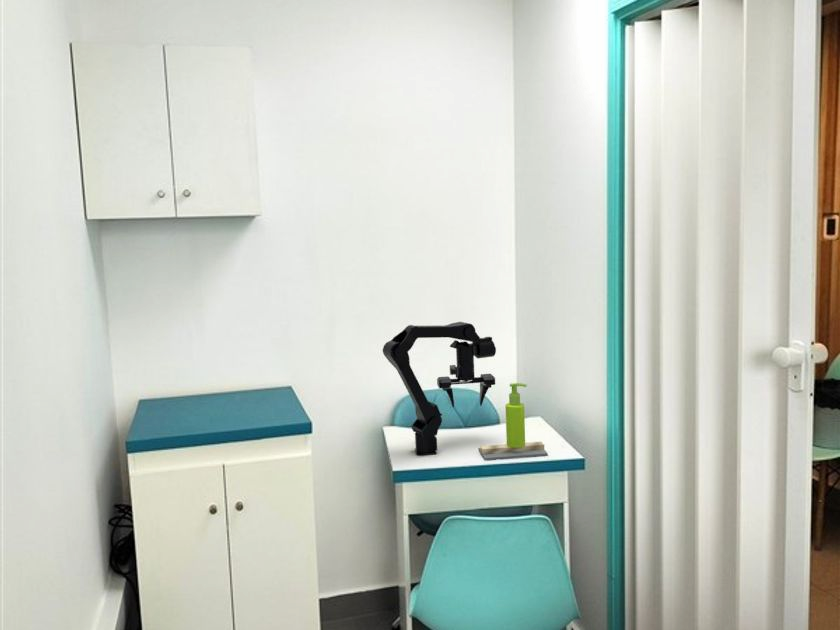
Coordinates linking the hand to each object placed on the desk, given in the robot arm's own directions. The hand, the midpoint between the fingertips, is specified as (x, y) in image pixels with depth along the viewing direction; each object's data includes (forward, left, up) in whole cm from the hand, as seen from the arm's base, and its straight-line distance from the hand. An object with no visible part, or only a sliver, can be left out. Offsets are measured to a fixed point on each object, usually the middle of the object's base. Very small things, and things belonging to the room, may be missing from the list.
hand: (466, 406), depth 251 cm
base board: (+12, -13, -13) cm, 22 cm away
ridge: (+12, -13, -13) cm, 22 cm away
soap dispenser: (+14, -13, -11) cm, 22 cm away
